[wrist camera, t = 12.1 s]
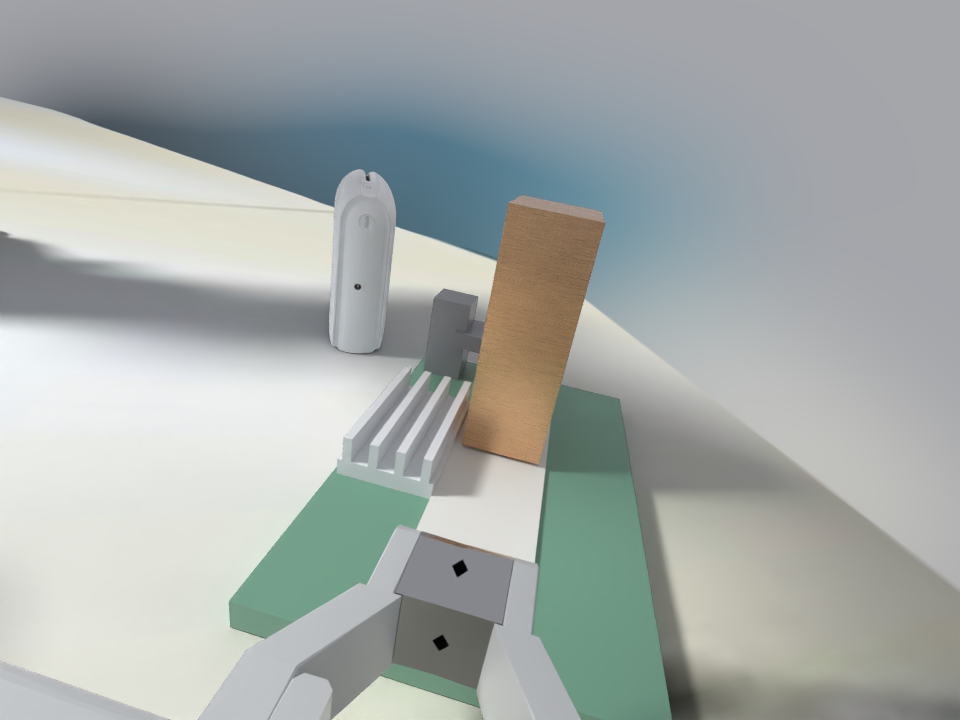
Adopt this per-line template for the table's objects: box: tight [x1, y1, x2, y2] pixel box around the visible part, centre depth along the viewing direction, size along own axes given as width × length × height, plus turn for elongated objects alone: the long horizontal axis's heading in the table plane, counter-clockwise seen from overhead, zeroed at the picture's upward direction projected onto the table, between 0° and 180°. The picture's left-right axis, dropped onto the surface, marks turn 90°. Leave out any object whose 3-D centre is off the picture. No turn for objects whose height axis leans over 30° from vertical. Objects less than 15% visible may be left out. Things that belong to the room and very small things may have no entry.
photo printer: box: [329, 169, 396, 353], centre depth 37 cm, size 10×4×12 cm, turn 14°
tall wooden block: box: [462, 195, 605, 464], centre depth 27 cm, size 10×4×12 cm, turn 169°
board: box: [229, 289, 672, 720], centre depth 24 cm, size 22×14×6 cm, turn 169°
